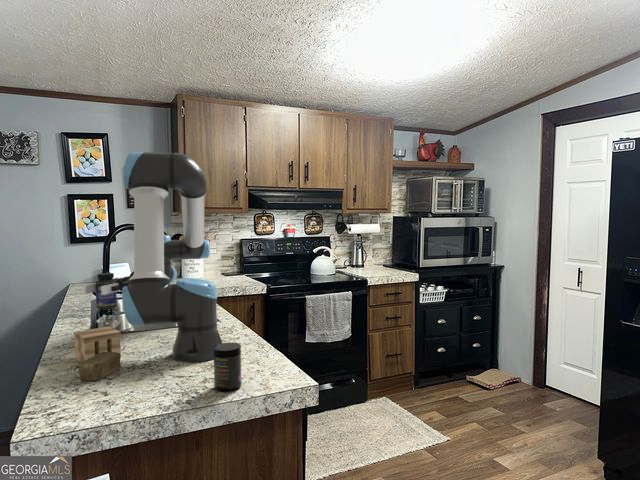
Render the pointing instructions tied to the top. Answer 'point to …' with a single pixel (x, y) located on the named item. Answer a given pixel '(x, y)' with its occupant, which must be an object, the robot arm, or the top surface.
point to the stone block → (99, 366)
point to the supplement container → (227, 366)
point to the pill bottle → (107, 299)
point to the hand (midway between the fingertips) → (93, 290)
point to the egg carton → (108, 321)
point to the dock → (96, 342)
